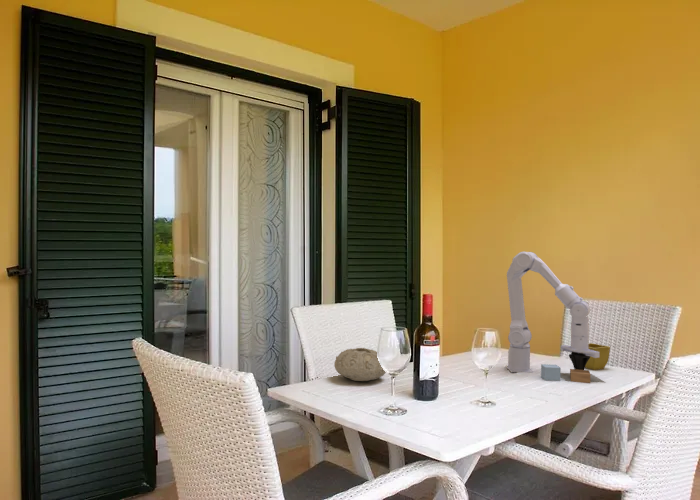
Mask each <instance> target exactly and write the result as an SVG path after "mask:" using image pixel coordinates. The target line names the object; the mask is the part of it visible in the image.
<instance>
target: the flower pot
mask: <svg viewBox="0 0 700 500" xmlns="http://www.w3.org/2000/svg"><path fill="white" fill-rule="evenodd" d="M588 349H591V350H594V351H597V352H600V353H599V358H593V357H591V356H590V359H589V360H588V362H587V363H586V366H585V368H584V369H586V370H591V371H596V370H597V371H598V370H604V368H605V367H606V366H607V364H608V362H609V359H610V358H609V357H610V354H611V353H610V351H611V346H608V345H602V344H597V343H592V342H591V343H589V345H588ZM580 353H581V352H580Z"/></svg>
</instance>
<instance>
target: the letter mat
mask: <svg viewBox="0 0 700 500" xmlns="http://www.w3.org/2000/svg"><path fill="white" fill-rule="evenodd" d="M560 379H562V380H564V381H566V382H572V381H571V380H570V372H560ZM590 383H604V384H605V383H607V382H606V381H605V380H603V379H600V377H598V376H596V375H594V374H592V373H590Z"/></svg>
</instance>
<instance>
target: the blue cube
mask: <svg viewBox="0 0 700 500" xmlns="http://www.w3.org/2000/svg"><path fill="white" fill-rule="evenodd" d="M561 370H562V369H561V366H558V365H557V364H546V363H543V364H540V378H541V379H543V380H544V381H546V382H548V381H549V382H550V381H551V382H560V381H561V377H560V373H561V372H562V371H561Z"/></svg>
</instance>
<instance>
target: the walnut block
mask: <svg viewBox="0 0 700 500" xmlns="http://www.w3.org/2000/svg"><path fill="white" fill-rule="evenodd" d="M569 373H570V380H571V381H570V382H573V383H586V384H591V382H590V374H591V373H590V369H584V370H578V369H574V368H570V369H569Z"/></svg>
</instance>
